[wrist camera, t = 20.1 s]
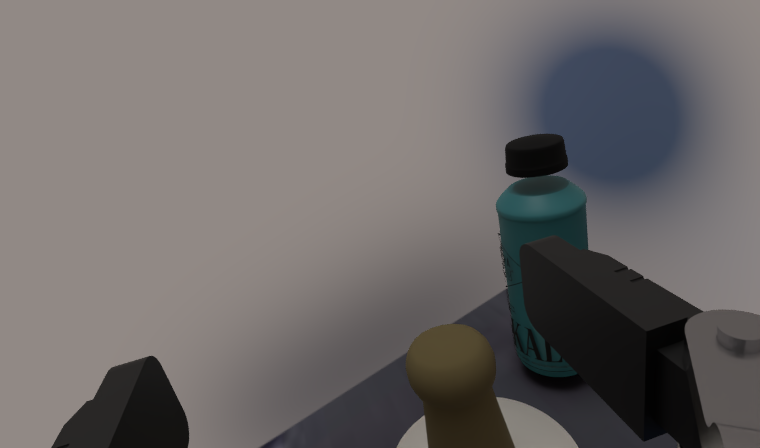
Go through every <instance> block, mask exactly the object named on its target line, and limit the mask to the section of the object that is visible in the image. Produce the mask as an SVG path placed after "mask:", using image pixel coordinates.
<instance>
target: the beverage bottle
mask: <svg viewBox="0 0 760 448" xmlns="http://www.w3.org/2000/svg"><path fill="white" fill-rule="evenodd" d="M505 153H506V164H505V167H506V173H507V174H508V175H510V176H513V177H520V178H525V179H522V180H519V181H517V182H515V183H513V184H511V185H510V186H509V187H508V188H507V189H506V190H505V191H504V192H503V193H502V195H501V196H500V197H499V199H498V200H497V202H496V210H497V212H498V217H499V224H500V234H499V235H501V242H502V243H501V246H502V248H501V250H502V249H503V250H502V251H503V254H501V255H503V257H504V259H503V260H504V261H503V262H504V264H505V265H504V266H505V273H506V278H507V285H508V286H506V287H508V291H507V290H506V291H507V292H509V294H508V293H507V292H506V293H507V294H508V295H509V296H507V298H508V297H509V299H510V303H509V304H510V305H509V304H508V305H509V308H510V307H511V308H510V309H511V310H510V312H511V315H512V317H511V319H512V326H511V328H512V331H513V333H514V337H513V340H515V341H513V342H515V343H514V344H515V345H516V349H517V353H518V355H517V356H518V357H519V358H520V360H521V361H522V363H523V364H524V365H525V366H526V367H527V368H529V369H530V370H532V371H534V372H536V373H538V374H541V375H545V376H550V377H567V376H572V375H576V374H578V373H577V372H576V371H575V370H574V369H573V368H572V367H571V366H570V365H569V364H568V363H567V362H566V361H565V360H564V359H563V358H562V357H561V356H560V355H559V354H558V353H557V352H556V351H555V350H554V349H553V347H552V346H551V345H550V344H549V343H548V342H547V341H546V340H545V339H544V338H543V337H542V336H541V335H540V334H539V333H538V332H537V331H536V330H535V328H534V327H533V326H532V324H531V322H530V320H529V318H528V316H527V313H526V310H525V306H524V297H523V287H522V277H521V267H520V257H519V252H520V247H521V246H522V245H523V244H526V243H529V242H532V241H536V240H539V239H542V238H546V237H549V236H552V235H556V236H558V237H560V238H562V239H563V240H565V241H566V242H568V243H570V244H571V245H573V246H574V247H576V248H578V249H579V250H582V249H586V250H588V237H587V219H586V200H587V198H586V194H585V193H584V191H583V190H582V189H580V188H579V187H578V186H576V185H575V184H573V183H572V182H570V181H569V180H567V179H565V178H563V177H559V176H546V175H550V174H554V173H556V172H559V171H561V170H563V169H565V168H566V167H567V166H568V158H567V155H566V150H565V144H564V139H563V137H562V136H560V135H556V134H537V135H530V136H525V137H521V138H518V139H515V140H513V141H511V142H509V143H508V144H507V145H506V148H505ZM503 268H504V267H503ZM505 273H504V274H505ZM509 299H507V300H509ZM508 302H509V301H508ZM511 315H510V316H511ZM510 321H511V320H510ZM514 347H515V346H514ZM517 353H516V354H517Z"/></svg>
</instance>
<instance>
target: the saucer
mask: <svg viewBox="0 0 760 448" xmlns="http://www.w3.org/2000/svg"><path fill="white" fill-rule="evenodd" d="M496 399H497V401H498V404H499V406H500V409H501V412H502V414H503V417H504V420H505V422H506V425H507V427H508V430H509V433H510V435H511V438H512V440H513V443H514V446H515V448H578V446H577V444H576V443H575V442H574V440H573V439H572V437H571V436H570V435H569V434H568V433H567V432H566V430H565V429H564V428H563V427H562V426H560V425H559V424H558V423H557V422H556V421H555V420H554V419H552V418H551V417H549V416H548V415H546V414H545V413H543V412H541V411H540V410H538V409H536V408H534V407H532V406H529V405H527V404H524V403H521V402H518V401H515V400H511V399H506V398H499V397H496ZM397 448H428V442H427V433H426V424H425V415H424V416H423V417H421V418H420V419H419V420H418V421H417V422H416V423H414V424H413V426H412V427H411V428H410V429H409V430H408V431H407V432H406V433H405V435H404V436H403V438H402V439H401V440H400V442H399V444H398V446H397Z"/></svg>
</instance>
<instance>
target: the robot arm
mask: <svg viewBox="0 0 760 448" xmlns="http://www.w3.org/2000/svg"><path fill="white" fill-rule="evenodd" d="M519 257H520V267H521V277H522V287H523V297H524V306H525V310H526V313H527V316H528V318H529V320H530V322H531V324H532V326H533V327H534V328H535V330H536V331H537V332H538V333H539V334H540V335H541V336H542V337H543V338H544V339H545V340H546V341H547V342H548V343H549V344H550V345H551V346H552V347H553V349H554V350H555V351H556V352H557V353H558V354H559V355H560V356H561V357H562V358H563V359H564V360H565V361H566V362H567V363H568V364H569V365H570V366H571V367H572V368H573V369H574V370H575V371H576V372H577V373H578V374H579V375H580V376H581V377H582V379H583V380H584V381H585V382H586V383H587V384H588V385H589V386H590V387H591V388H592V389H593V390H594V391H595V392H596V393H597V394H598V395H599V396H600V397H601V398H602V399H603V400H604V401H605V402H606V403H607V404H608V405H609V406H610V408H611V409H612V410H613V411H614V412H615V413H616V414H617V415H618V416H619V417H620V418H621V419H622V420H623V421H624V422H625V423H626V424H627V425H628V426H629V427H630V428H631V429H632V430H633V431H634V432H635V433H636V434H637V435H638V436H639V438H640V439H641V440H642V441H643V442H644V441H647V440H650V439H652V438H655V437H657V436H660V435H663V434H665V433H668V434H669V435H670V436H672V437H673V438H674V439H675V440H676V441H677V448H760V315H756V314H753V313H749V312H743V311H736V310H711V311H706V312H703V311H701V310H700V309H698V308H696V307H695V306H693V305H691V304H689V303H688V302H686V301H684V300H683V299H681V298H679V297H678V296H676V295H674V294H673V293H671V292H669V291H667V290H666V289H664V288H662V287H661V286H659V285H657V284H656V283H653V282H652V281H650V280H649V279H644V278H643V276H642V275H640V274H639V273H637V272H635V271H633V270H632V269H630V270H628V268H627V266H625V265H623V264H622V263H620V262H618V261H617V260H615V259H613V258H611V257H610V256H608V255H604V254H601V253H597V252H593V251H590V250H586V249H582V250H579V249H578V248H576V247H574V246H573V245H571V244H570V243H568V242H566V241H565V240H563V239H562V238H560V237H558V236H556V235H552V236H549V237H546V238H542V239H539V240H536V241H532V242H529V243H526V244H523V245H522V246H521V247H520V252H519ZM188 443H189V428H188V422H187V418H186V415H185V412H184V410H183V408H182V406H181V404H180V402H179V400H178V398H177V396H176V394H175V392H174V390H173V388H172V386H171V384H170V382H169V380H168V378H167V376H166V374H165V372H164V370H163V368H162V366H161V364H160V362H159V361H158V360H157V359H156V358H155V357H154V356H149V357H145V358H142V359H139V360H135V361H132V362H128V363H125V364H122V365H118V366H115V367H112V368H111V369H110V370H109V371H108V372H107V374H106V376H105V378H104V380H103V382H102V384H101V386H100V388H99V390H98V391H97V393H96V395H95V397H94V399H93V400H90V401H87V402H86V403H85V404H84V405H83V406H82V407H81V408H80V409H79V410H78V411H77V413H76V414H74V416H73V417H72V418H71V419H70V420H69V421H68V422H67V423H66V424H65V425H64V426H63V428H62V430H61V432H60V433H59V435H58V437H57V439H56V440H55V442H54V444H53V446H52V448H188Z"/></svg>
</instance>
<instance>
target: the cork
mask: <svg viewBox="0 0 760 448" xmlns="http://www.w3.org/2000/svg"><path fill="white" fill-rule="evenodd" d="M406 371H407V375H408V379H409V382H410V385H411V387H412V388H413V390H414V392H415V393H416V394H417V395H418V396H419V398H420V399H421V400H422V401H423V405H424V415H425V424H426V433H427V442H428V448H515V446H514V443H513V440H512V438H511V435H510V433H509V430H508V427H507V425H506V422H505V420H504V417H503V414H502V412H501V409H500V406H499V404H498V401H497V399H496V396H495V393H494V391H493V388H492V385H493V383H494V380H495V375H496V362H495V356H494V352H493V350H492V348H491V346H490V344H489V343H488V341H487V339H486V338H485V337H484V336H483V335H482V334H481V333H479V332H478V331H477V330H475V329H474V328H472V327H469V326H466V325H460V324H447V325H441V326H438V327H434V328H431V329H429V330H427V331H425V332H423V333H422V334H420V335H419V336H418V337H417V338H416V339H415V340H414V341H413V343H412V344H411V346H410V348H409V350H408V353H407V358H406Z"/></svg>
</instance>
